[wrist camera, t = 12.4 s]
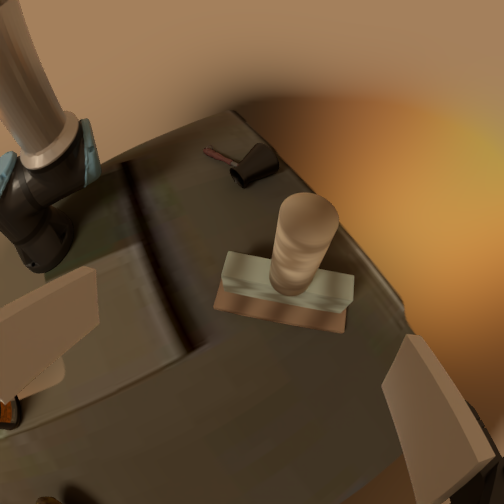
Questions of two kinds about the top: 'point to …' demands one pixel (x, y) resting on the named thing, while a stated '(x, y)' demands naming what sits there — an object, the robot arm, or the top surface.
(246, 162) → the coffee pot
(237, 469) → the top surface
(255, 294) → the stand
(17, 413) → the supplement container
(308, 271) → the rod
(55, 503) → the potato
